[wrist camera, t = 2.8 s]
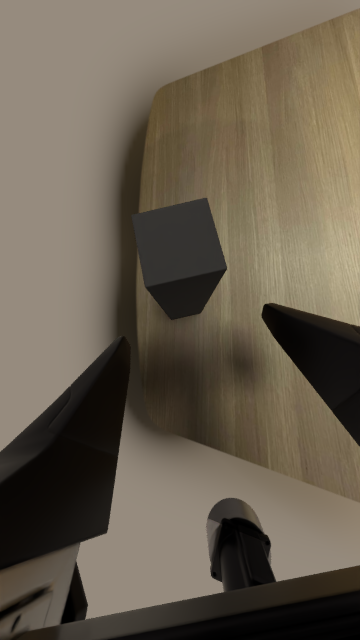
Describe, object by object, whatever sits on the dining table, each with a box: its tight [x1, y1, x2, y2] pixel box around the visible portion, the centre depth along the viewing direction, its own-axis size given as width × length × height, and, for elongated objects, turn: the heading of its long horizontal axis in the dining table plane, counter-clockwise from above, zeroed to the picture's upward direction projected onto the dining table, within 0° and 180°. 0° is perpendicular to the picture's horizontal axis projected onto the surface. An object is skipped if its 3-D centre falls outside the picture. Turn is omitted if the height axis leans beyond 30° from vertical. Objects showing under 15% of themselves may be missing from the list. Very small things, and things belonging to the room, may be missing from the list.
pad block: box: [132, 198, 227, 320], centre depth 14 cm, size 4×4×13 cm
